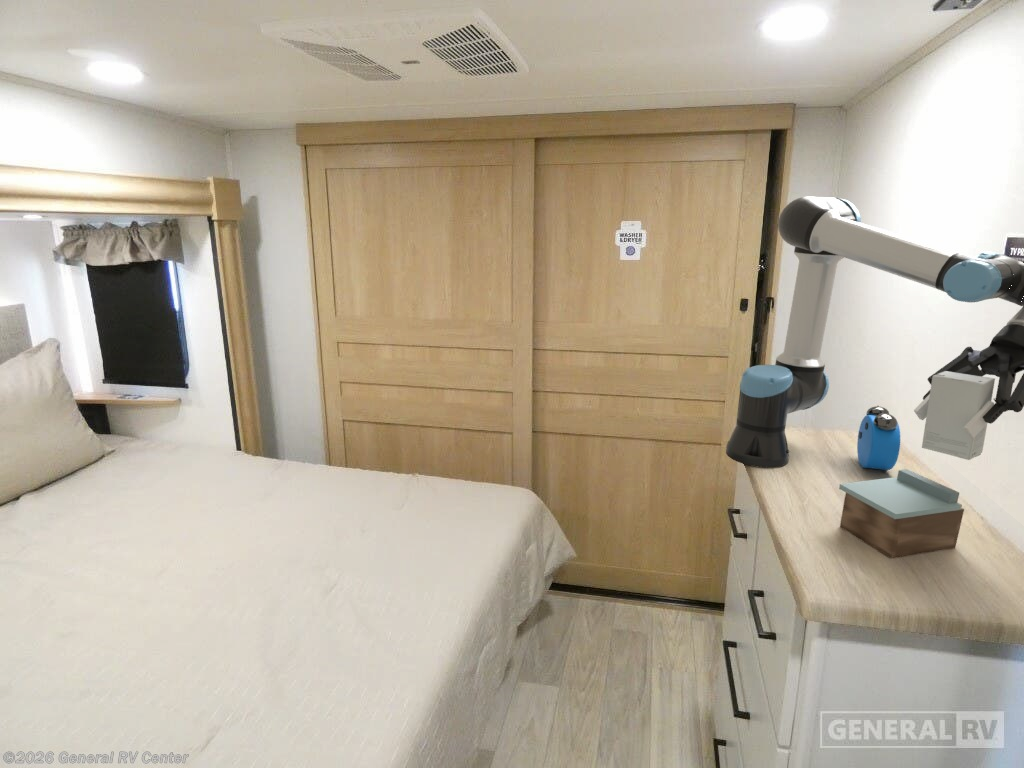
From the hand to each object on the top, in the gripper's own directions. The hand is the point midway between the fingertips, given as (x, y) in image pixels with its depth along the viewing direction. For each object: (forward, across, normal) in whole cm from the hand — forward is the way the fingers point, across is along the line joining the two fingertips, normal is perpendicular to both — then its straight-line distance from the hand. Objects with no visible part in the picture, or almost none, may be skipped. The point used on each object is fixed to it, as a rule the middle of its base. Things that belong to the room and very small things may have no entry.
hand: (942, 423), depth 110 cm
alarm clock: (+3, +29, -29) cm, 41 cm away
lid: (+15, 0, -5) cm, 16 cm away
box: (+20, 0, -12) cm, 24 cm away
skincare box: (+2, 0, -6) cm, 7 cm away
